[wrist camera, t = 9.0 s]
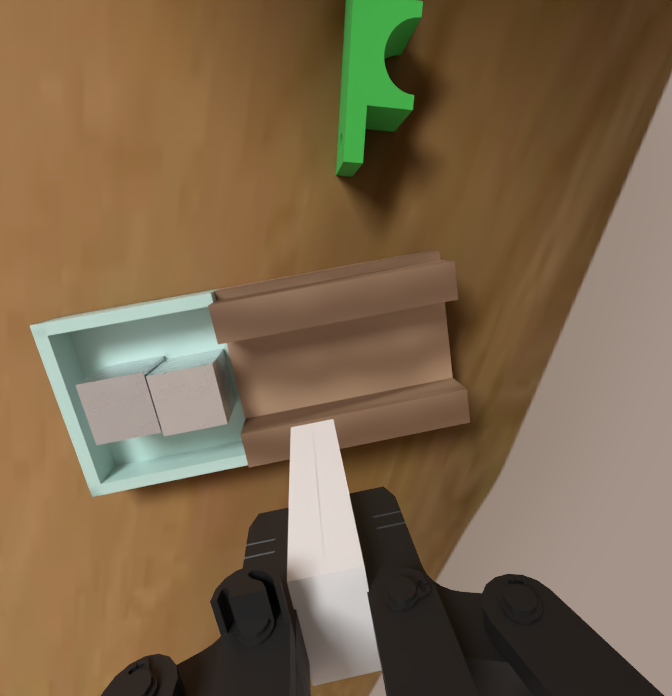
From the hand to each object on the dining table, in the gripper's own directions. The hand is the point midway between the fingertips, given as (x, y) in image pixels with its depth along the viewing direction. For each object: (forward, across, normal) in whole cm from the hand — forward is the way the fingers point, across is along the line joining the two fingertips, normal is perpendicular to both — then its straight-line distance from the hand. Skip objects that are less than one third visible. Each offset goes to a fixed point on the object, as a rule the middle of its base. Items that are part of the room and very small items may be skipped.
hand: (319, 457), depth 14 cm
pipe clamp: (+17, +7, +16) cm, 24 cm away
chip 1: (+15, -12, -1) cm, 19 cm away
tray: (+16, -11, -1) cm, 19 cm away
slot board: (+16, +2, -1) cm, 16 cm away
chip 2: (+15, -8, -1) cm, 17 cm away
